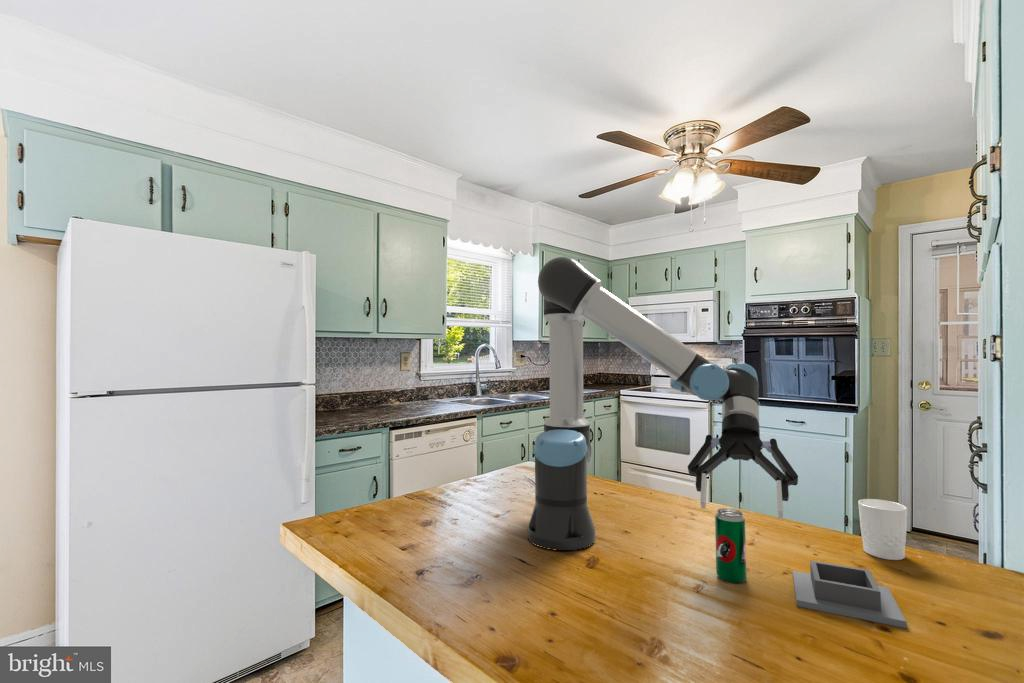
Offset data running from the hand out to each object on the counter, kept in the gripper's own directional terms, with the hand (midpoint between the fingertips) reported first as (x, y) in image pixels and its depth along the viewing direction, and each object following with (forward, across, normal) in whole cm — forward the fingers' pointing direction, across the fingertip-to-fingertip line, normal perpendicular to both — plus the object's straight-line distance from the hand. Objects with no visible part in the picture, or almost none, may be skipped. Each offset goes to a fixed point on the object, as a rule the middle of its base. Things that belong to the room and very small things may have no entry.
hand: (740, 510), depth 92 cm
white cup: (-6, -26, -22) cm, 34 cm away
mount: (+12, -15, -3) cm, 20 cm away
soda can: (+12, +2, -3) cm, 13 cm away
